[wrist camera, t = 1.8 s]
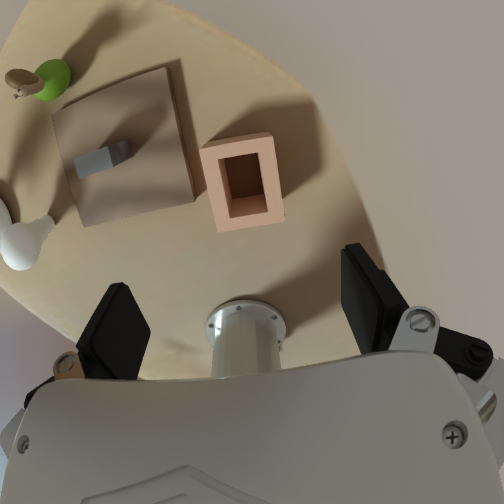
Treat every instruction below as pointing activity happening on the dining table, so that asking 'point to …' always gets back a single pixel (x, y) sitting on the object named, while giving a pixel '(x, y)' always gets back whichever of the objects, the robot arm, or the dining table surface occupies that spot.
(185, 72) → the dining table surface
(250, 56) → the dining table surface
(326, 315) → the dining table surface
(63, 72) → the snail figurine
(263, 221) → the tan rectangular frame
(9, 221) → the flower in vase
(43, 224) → the lightbulb
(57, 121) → the hub plate
